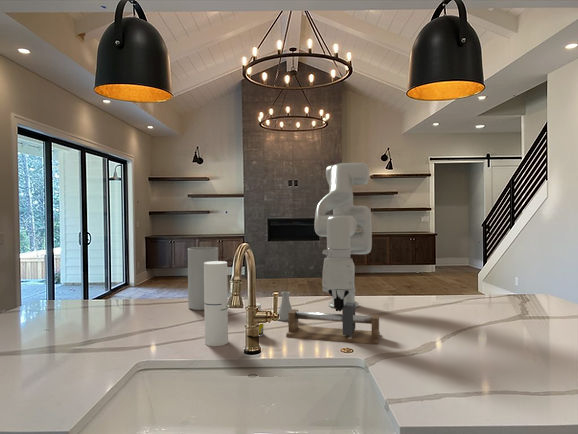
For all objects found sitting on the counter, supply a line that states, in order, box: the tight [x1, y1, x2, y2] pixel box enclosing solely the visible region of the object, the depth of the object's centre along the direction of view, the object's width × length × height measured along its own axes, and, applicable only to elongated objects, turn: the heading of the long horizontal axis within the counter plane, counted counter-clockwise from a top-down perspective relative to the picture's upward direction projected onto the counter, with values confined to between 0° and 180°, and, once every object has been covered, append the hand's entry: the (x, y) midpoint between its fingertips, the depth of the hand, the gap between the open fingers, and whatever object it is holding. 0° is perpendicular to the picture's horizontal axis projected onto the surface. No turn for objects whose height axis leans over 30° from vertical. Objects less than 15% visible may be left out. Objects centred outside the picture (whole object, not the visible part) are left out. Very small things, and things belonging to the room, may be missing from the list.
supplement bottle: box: [255, 302, 264, 337], centre depth 137 cm, size 6×6×10 cm
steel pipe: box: [295, 310, 372, 325], centre depth 135 cm, size 27×3×3 cm, turn 74°
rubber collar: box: [341, 302, 356, 336], centre depth 134 cm, size 3×8×8 cm, turn 164°
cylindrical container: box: [204, 260, 229, 347], centre depth 129 cm, size 7×7×25 cm
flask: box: [277, 291, 293, 322], centre depth 157 cm, size 7×7×10 cm
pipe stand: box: [285, 308, 381, 345], centre depth 135 cm, size 29×10×7 cm, turn 74°
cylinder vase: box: [187, 246, 219, 311], centre depth 176 cm, size 12×12×25 cm
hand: (338, 310), depth 135 cm, fingers closed
